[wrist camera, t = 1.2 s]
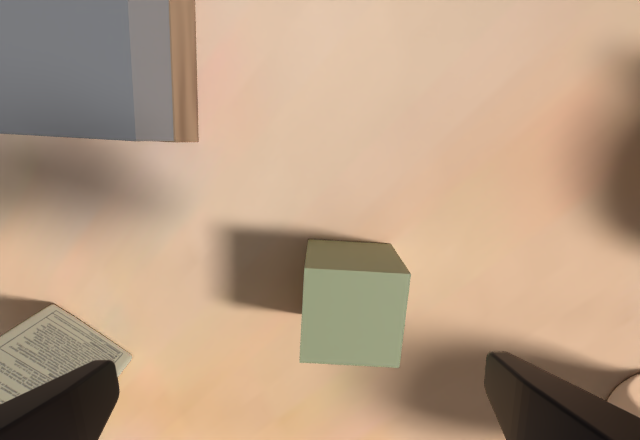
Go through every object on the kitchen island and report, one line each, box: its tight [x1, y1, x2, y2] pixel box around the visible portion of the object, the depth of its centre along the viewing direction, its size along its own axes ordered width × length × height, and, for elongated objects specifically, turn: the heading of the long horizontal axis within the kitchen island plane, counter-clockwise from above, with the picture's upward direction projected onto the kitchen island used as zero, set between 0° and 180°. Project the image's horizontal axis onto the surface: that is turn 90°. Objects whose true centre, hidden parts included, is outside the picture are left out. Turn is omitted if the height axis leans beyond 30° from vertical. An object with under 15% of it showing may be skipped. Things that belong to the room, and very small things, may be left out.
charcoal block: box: [0, 0, 174, 141], centre depth 14 cm, size 8×8×4 cm
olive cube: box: [300, 239, 411, 368], centre depth 19 cm, size 5×5×5 cm
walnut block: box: [160, 0, 199, 142], centre depth 18 cm, size 8×8×4 cm
